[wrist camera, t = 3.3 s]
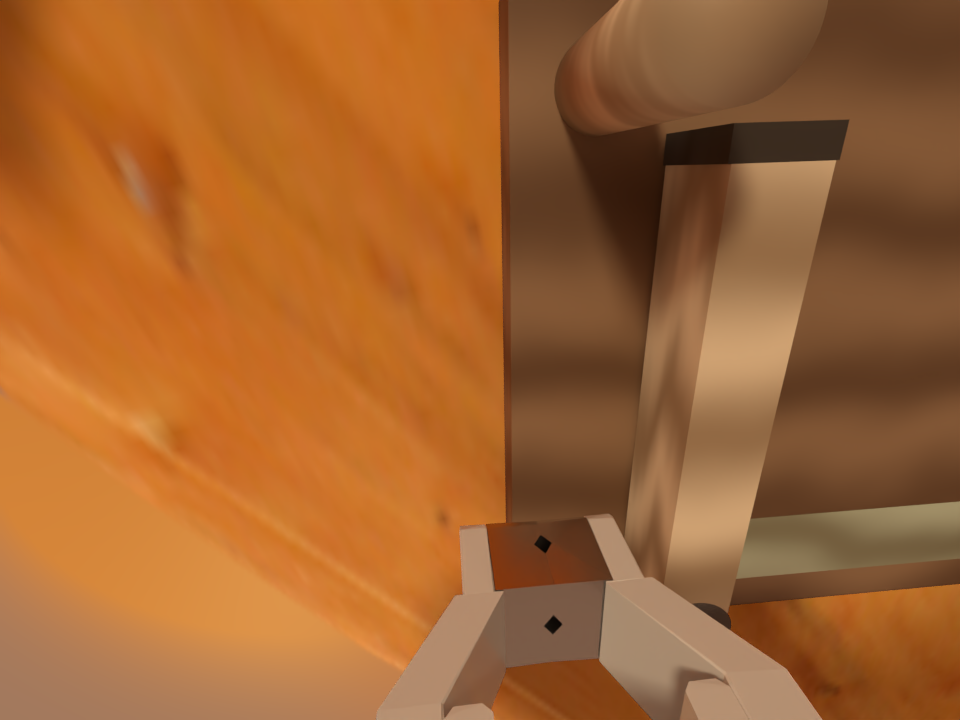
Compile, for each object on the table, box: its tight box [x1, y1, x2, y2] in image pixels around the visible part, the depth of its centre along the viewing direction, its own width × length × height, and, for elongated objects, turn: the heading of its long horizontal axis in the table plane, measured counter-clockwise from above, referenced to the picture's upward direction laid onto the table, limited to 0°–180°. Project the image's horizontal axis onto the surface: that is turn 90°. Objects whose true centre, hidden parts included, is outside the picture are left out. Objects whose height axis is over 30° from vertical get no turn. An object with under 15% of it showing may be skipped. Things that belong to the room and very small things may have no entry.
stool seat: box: [499, 0, 960, 605], centre depth 18 cm, size 28×28×10 cm
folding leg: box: [624, 119, 850, 630], centre depth 18 cm, size 21×4×4 cm, turn 2°
